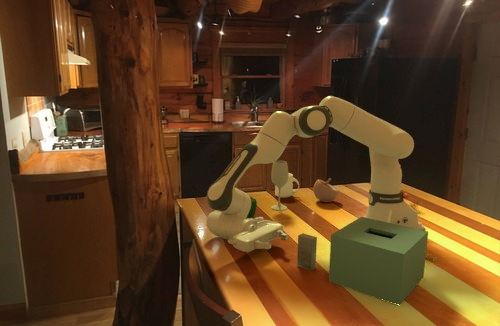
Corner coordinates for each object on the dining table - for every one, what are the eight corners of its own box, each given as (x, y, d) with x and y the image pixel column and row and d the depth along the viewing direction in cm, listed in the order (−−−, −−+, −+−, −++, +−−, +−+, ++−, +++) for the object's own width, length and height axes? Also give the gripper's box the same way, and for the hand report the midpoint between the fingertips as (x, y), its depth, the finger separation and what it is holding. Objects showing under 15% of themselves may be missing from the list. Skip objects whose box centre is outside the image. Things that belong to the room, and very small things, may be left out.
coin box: (328, 281, 114) (331, 234, 111) (358, 258, 129) (361, 216, 127) (399, 306, 102) (404, 254, 99) (423, 277, 117) (428, 231, 114)
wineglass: (290, 207, 182) (291, 161, 178) (282, 211, 176) (283, 164, 171) (275, 204, 186) (276, 159, 182) (267, 208, 180) (268, 162, 175)
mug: (297, 199, 195) (298, 177, 192) (273, 197, 198) (273, 175, 196) (300, 194, 203) (301, 173, 201) (277, 192, 206) (277, 172, 204)
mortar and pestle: (341, 205, 185) (342, 181, 183) (314, 205, 185) (315, 181, 183) (335, 198, 197) (337, 175, 194) (311, 197, 197) (312, 175, 194)
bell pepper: (257, 213, 172) (257, 191, 170) (255, 220, 164) (256, 196, 162) (237, 213, 173) (237, 190, 171) (235, 219, 165) (235, 195, 163)
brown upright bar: (297, 266, 123) (298, 235, 122) (301, 263, 125) (302, 233, 123) (311, 271, 120) (312, 239, 118) (315, 268, 122) (316, 237, 120)
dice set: (435, 263, 127) (436, 257, 127) (418, 261, 129) (419, 255, 129) (433, 257, 132) (434, 251, 132) (417, 255, 134) (417, 249, 133)
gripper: (224, 231, 128) (258, 242, 120) (263, 215, 144) (296, 224, 135) (224, 250, 130) (258, 262, 121) (263, 232, 145) (295, 241, 137)
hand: (278, 242), depth 128 cm, fingers open, 8 cm apart
